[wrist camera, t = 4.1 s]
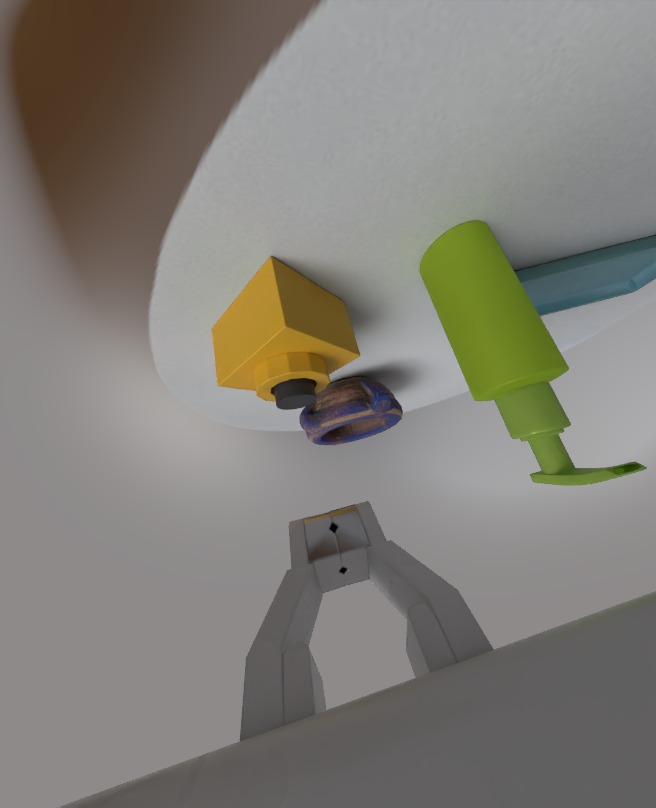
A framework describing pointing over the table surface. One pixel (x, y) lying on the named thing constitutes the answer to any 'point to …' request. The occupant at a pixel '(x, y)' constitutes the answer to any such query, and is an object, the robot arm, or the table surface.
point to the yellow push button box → (281, 333)
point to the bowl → (350, 411)
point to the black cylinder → (294, 393)
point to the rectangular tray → (590, 276)
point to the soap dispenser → (504, 347)
